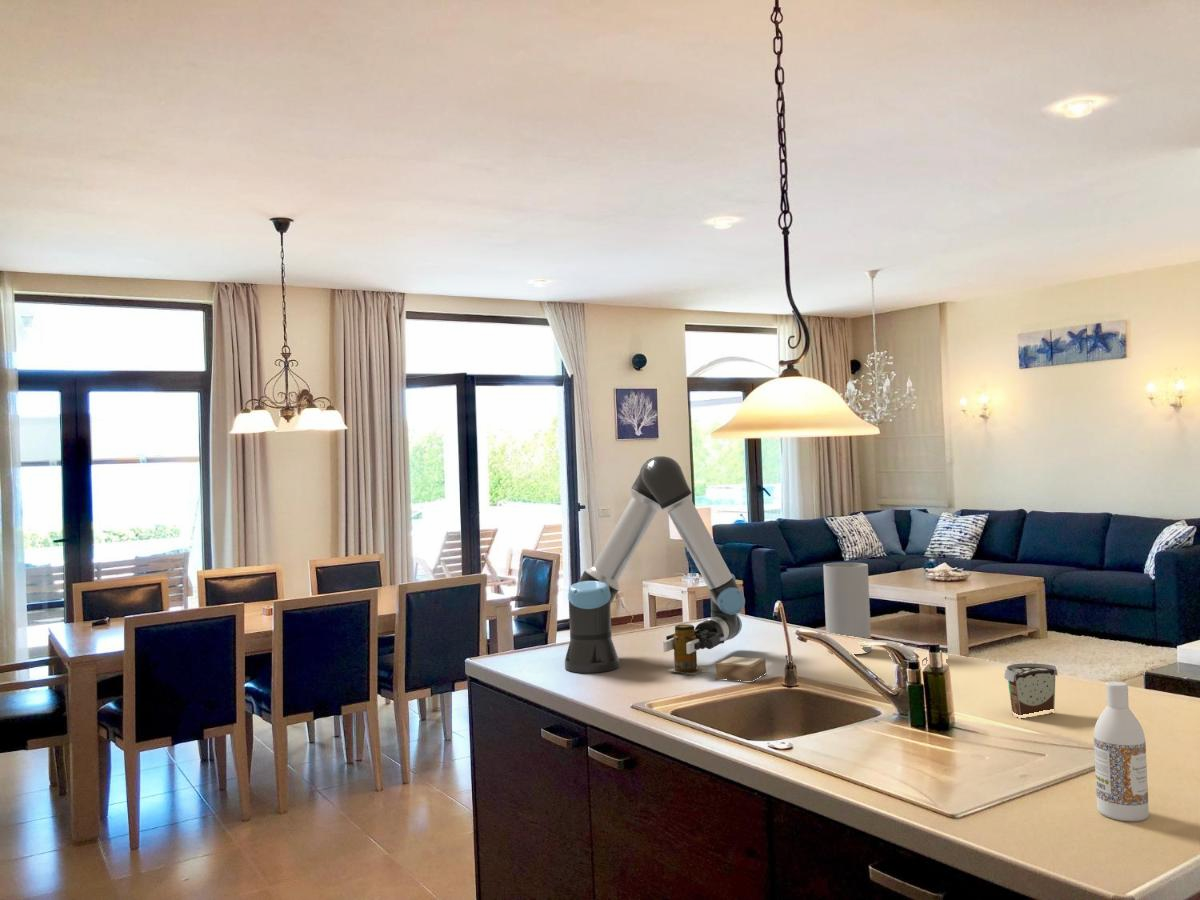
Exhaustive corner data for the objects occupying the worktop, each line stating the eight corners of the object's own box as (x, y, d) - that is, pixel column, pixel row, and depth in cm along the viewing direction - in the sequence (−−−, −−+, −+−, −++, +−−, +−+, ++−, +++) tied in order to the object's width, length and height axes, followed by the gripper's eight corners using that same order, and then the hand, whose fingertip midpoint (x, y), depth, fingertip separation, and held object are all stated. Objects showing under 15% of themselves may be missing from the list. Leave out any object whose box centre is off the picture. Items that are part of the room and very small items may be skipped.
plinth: (716, 679, 242) (715, 663, 242) (730, 671, 250) (730, 655, 250) (752, 682, 237) (751, 665, 237) (766, 674, 245) (765, 658, 245)
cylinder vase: (823, 647, 277) (819, 563, 277) (865, 646, 276) (861, 561, 277) (831, 656, 264) (828, 568, 265) (876, 655, 264) (872, 566, 264)
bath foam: (1128, 826, 139) (1121, 691, 139) (1087, 810, 145) (1081, 681, 145) (1159, 817, 141) (1153, 685, 142) (1118, 803, 148) (1112, 676, 148)
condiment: (685, 666, 257) (684, 622, 257) (708, 670, 250) (707, 625, 251) (667, 670, 252) (665, 626, 252) (690, 675, 246) (688, 629, 246)
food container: (1036, 706, 205) (1034, 660, 206) (1059, 712, 200) (1057, 665, 200) (992, 713, 201) (990, 666, 201) (1015, 720, 195) (1012, 672, 195)
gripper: (742, 648, 262) (709, 664, 242) (681, 643, 272) (644, 659, 252) (741, 621, 263) (708, 635, 243) (680, 617, 272) (643, 631, 252)
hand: (676, 647), depth 247 cm, fingers closed on condiment, 6 cm apart
